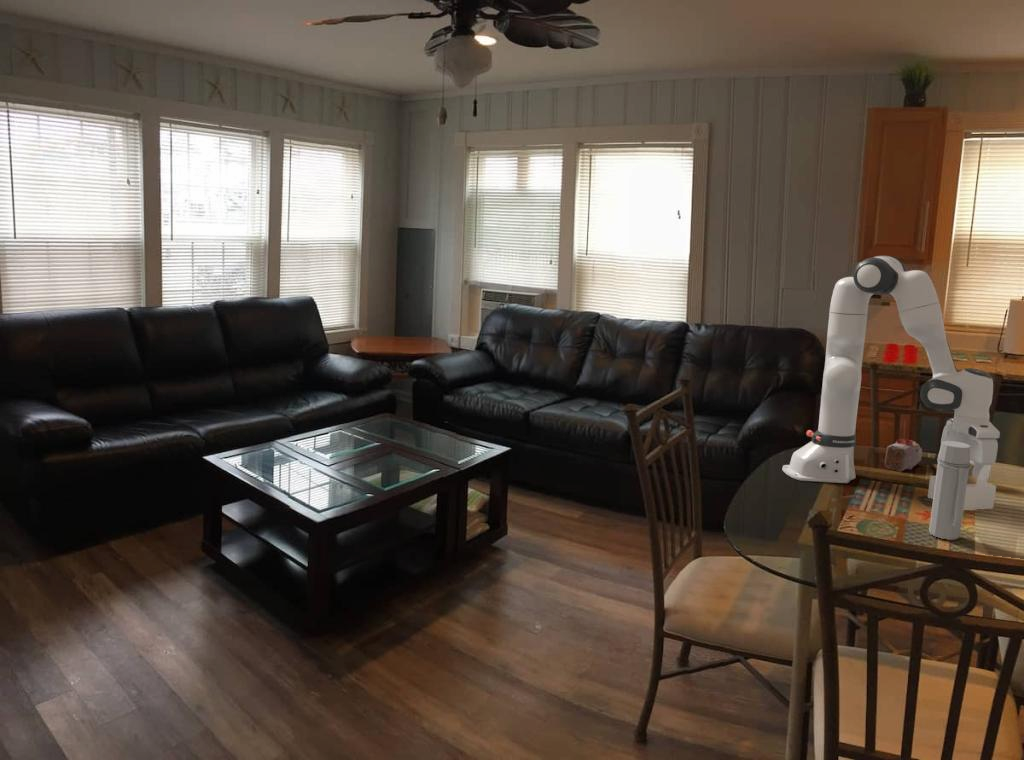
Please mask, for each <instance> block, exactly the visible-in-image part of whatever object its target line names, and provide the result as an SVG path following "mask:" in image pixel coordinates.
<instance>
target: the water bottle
mask: <svg viewBox="0 0 1024 760" xmlns="http://www.w3.org/2000/svg"><path fill="white" fill-rule="evenodd" d="M936 460H937V466H936V473H935V476H936V481H935V488H934V496H933V500H932V506H931V510H930V511H931V513H930V521H929V527H928V531H929V534H930V535H931V536H932V535H933V536H932V537H934V536H935V537H934V538H936V537H938V538H937V539H939V538H941V539H940V540H942V539H947V540H946V541H955V540H957V539H959V538H960V535H961V529H962V523H963V522H962V521H963V515H964V514H963V513H964V511H963V509H964V501H965V494H966V487H967V480H968V473H969V469H970V468H972V465H971V463H970V445H968V444H965V443H962V442H956V441H943V442H942V443H941V442H940V449H939V452H938V456H937V459H936ZM969 465H970V467H968V466H969Z"/></svg>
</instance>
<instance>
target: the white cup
mask: <svg viewBox="0 0 1024 760" xmlns="http://www.w3.org/2000/svg"><path fill="white" fill-rule="evenodd" d="M970 463H971V464H973V465H974V461H972V460H970ZM991 469H992V465H984V466H983V468H982V469H981V470H980V473H979V476H978V477H977V479H979V480H981V481H984V482H987V483H988V480H989V478H990V474H991V473H990V472H991Z"/></svg>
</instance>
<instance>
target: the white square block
mask: <svg viewBox="0 0 1024 760" xmlns="http://www.w3.org/2000/svg"><path fill="white" fill-rule="evenodd" d="M935 481H936V475H929V484H928V491H927V499H930V498H931V500H932V499H933V496H934V488H935ZM996 490H997V485H994V484H992V483H989V482H988V481H987V482H984V481H981V480H979V479H977V483H976V484H967V487H966V494H965V501H964V509H963V510H970V511H975V510H974V509H981V510H988V509H989V510H991V509H994V506H995V499H996V492H997V491H996Z"/></svg>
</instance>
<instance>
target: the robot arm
mask: <svg viewBox="0 0 1024 760" xmlns="http://www.w3.org/2000/svg"><path fill="white" fill-rule="evenodd" d="M874 294H875V295H877V294H879V295H882V294H883V295H887V294H889V295H891V296H892V297H893V298H894V301H895V303H896V306H897V311H898V315H899V319H900V321H901V325H902V326H903V328H904V331H905V332H906V333H907V335H908V336H910V337H912V338H914V339H915V340H916V341H918V342H920V344H921V345H922V347H924V350H925V352H926V354H927V358H928V361H929V365H930V369H931V372H932V378H931V379H928V380H927V381H926V382H925V383H924V384H922V386H921V389H920V392H919V397H920V399H921V402H922V403H923V404H924V405H925V406H926V407H928V408H929V409H931V410H936V411H947V410H949V411H950V410H953V411H954V415H953V417H951V418H949V419H948V420H947V421H946V424H945V426H944V427H943V431H942V434H941V439H940V444H941V443H942V442H943V441H956V442H962V443H965V444H968V445H970V460H972V461H974V465H975V466H974V468H973V469H971V471H970V472H971V473H970V475H972V476H974V477H978V476H979V473H980V470H981V469H982V468H983V466H984V465H991V466H992V465H994V464H995V463H996V460H997V456H998V455H997V454H998V449H999V448H998V447H999V446H998V445H999V442H998V440H997V439H999V438H1000V436H1001V435H1000V434H1001V432H1000V430H998V428H997V427H996V426H994V425H993V423H992V422H991V421H990V407H991V405H992V402H993V394H994V382H993V381H994V380H993V377H992V376H991V375H990V374H989V373H988V372H985V371H984V370H980V369H976V368H969V367H968V368H963V369H962V370H960V371H959V370H958V369H957V366H956V363H955V361H954V358H953V354H952V352H951V348H950V344H949V342H948V338H947V336H946V329H945V324H944V319H943V314H942V313H943V312H942V307H941V304H940V299H939V297H938V293H937V290H936V288H935V286H934V284H933V281H932V279H931V278H930V276H929V273H927V272H925V271H923V270H919V269H918V270H917V269H915V270H912V269H911V270H908V271H907V270H906V266H905V264H904V262H902V261H901V260H900V259H899V258H897V257H895V256H892V255H876V256H873V257H868V258H865V259H864V260H862V261H861V262H859V263H858V264H857V266H856V267H855V269H854V271H853V276H846V277H842V278H841V279H839V280H838V281H836V282H835V285H834V288H833V290H832V295H831V300H830V304H829V305H830V306H829V312H828V313H829V314H828V315H829V316H828V325H827V335H826V346H825V348H826V349H825V361H824V369H823V373H822V374H823V375H822V376H823V377H822V386H821V387H822V388H821V395H820V407H819V417H818V418H819V419H818V428H817V430H816V431H815V432H814V431H813V430H811V429H809V430H807V431H806V433H805V434H806V436H807V437H809V438H811V441H809V442H808V443H806V444H805V445H803V446H801V447H800V448H799V449H797V450H796V451H793V453H792V455H791V459H790V462H789V464H783V465H782V472H783V473H785V474H786V475H787V476H788V477H791V478H792V479H794V480H796V481H797V480H798V481H803V482H819V483H834V484H835V483H838V484H848V483H850V481H852V480H855V479H856V470H855V463H854V462H855V461H854V454H855V453H854V450H855V448H856V438H857V434H856V428H857V427H856V426H857V417H858V408H859V400H860V392H861V383H862V378H863V377H862V367H863V366H862V365H863V357H864V356H863V355H864V348H865V342H866V341H865V340H866V334H867V333H866V332H867V322H868V314H869V313H868V312H869V311H868V310H869V303H870V299H871V297H872V296H873V295H874Z"/></svg>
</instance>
